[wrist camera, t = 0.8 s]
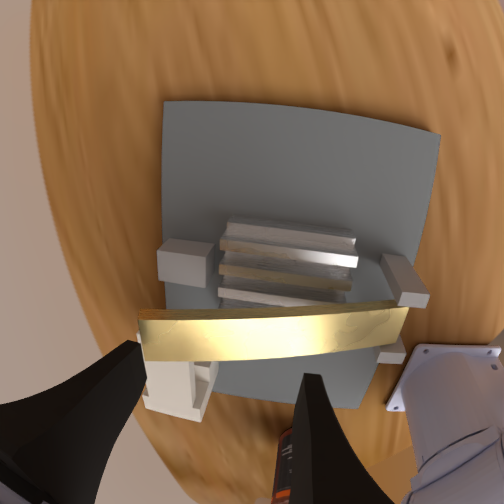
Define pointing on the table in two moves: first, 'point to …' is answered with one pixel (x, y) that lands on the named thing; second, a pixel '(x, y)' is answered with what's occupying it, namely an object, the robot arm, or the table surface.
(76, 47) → the table surface
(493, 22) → the table surface
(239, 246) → the heatsink
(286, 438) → the supplement bottle
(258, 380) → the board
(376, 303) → the strap
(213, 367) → the white l-shaped block
